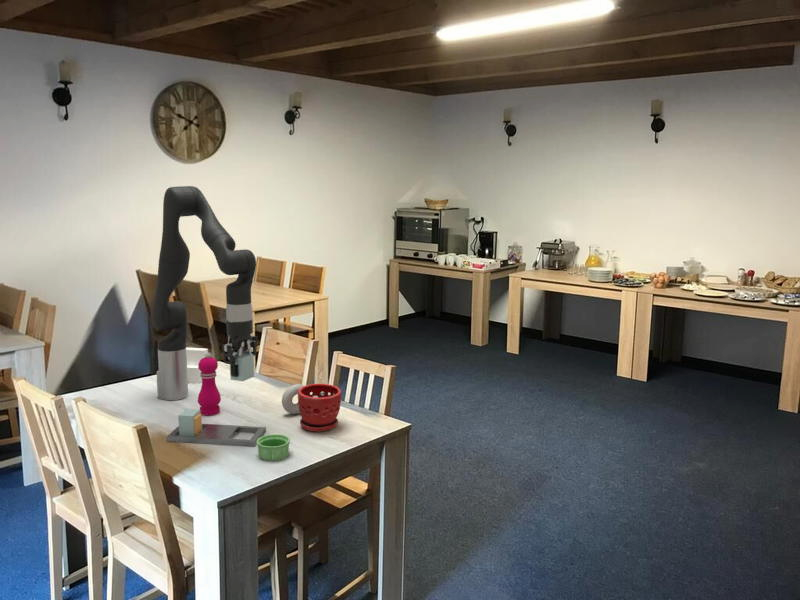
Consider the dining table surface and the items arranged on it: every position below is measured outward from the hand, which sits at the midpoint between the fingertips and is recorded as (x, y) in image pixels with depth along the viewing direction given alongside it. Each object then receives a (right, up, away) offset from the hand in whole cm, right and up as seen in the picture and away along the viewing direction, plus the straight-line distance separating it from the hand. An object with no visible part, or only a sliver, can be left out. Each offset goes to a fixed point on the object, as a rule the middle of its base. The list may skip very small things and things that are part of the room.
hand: (241, 373), depth 194 cm
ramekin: (+12, -21, -13) cm, 28 cm away
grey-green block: (0, -1, 0) cm, 1 cm away
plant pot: (+22, -17, +8) cm, 29 cm away
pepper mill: (-15, -15, +18) cm, 28 cm away
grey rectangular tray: (-7, -18, -1) cm, 20 cm away
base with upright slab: (-29, -8, +51) cm, 60 cm away
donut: (+14, -15, +18) cm, 27 cm away
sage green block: (-15, -18, -1) cm, 23 cm away
